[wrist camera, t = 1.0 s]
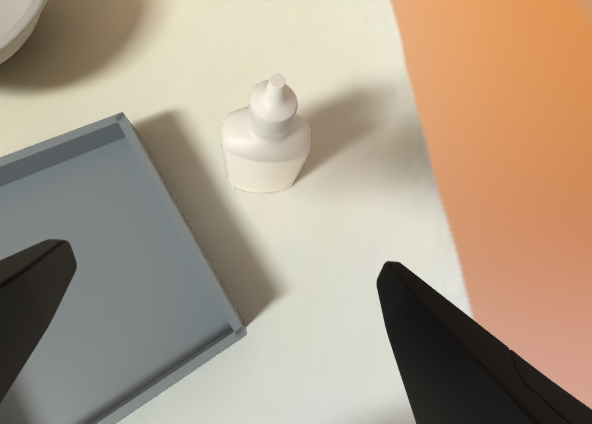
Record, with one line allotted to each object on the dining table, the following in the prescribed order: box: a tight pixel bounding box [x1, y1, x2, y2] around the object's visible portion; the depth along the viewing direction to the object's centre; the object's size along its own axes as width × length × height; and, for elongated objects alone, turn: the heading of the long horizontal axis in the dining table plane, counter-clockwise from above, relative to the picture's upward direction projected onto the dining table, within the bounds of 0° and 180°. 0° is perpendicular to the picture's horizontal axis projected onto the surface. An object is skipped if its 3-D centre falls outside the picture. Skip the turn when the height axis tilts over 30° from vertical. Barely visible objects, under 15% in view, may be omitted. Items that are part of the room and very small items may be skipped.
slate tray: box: [0, 112, 247, 424], centre depth 18 cm, size 18×16×3 cm
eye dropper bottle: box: [221, 74, 312, 194], centre depth 18 cm, size 4×6×12 cm
